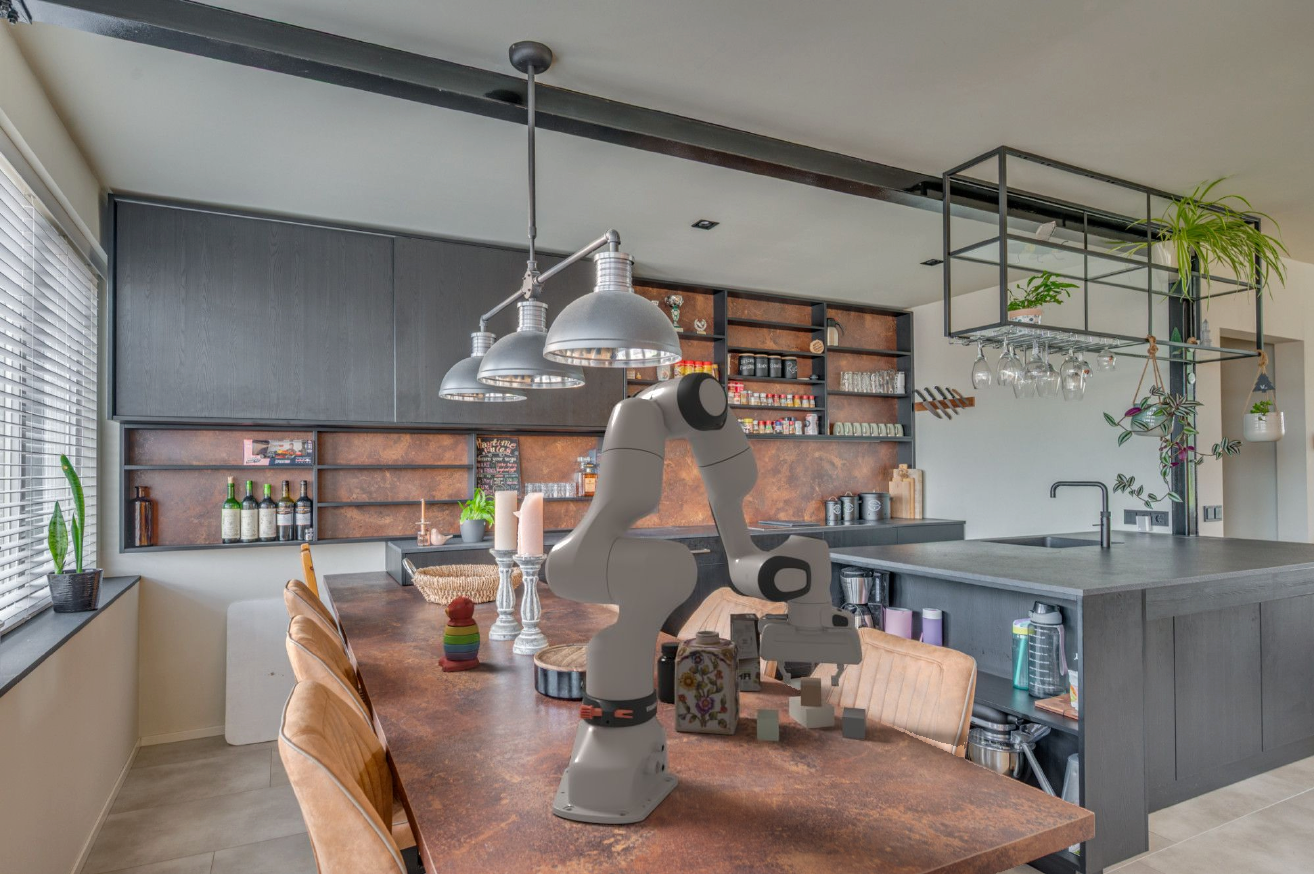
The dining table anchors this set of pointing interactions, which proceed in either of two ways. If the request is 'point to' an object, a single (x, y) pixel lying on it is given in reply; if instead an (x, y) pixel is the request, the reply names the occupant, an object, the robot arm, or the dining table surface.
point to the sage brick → (767, 725)
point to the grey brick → (854, 723)
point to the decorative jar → (707, 685)
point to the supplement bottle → (667, 672)
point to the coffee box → (747, 649)
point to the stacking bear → (460, 637)
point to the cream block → (811, 713)
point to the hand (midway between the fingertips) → (810, 684)
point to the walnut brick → (811, 691)
